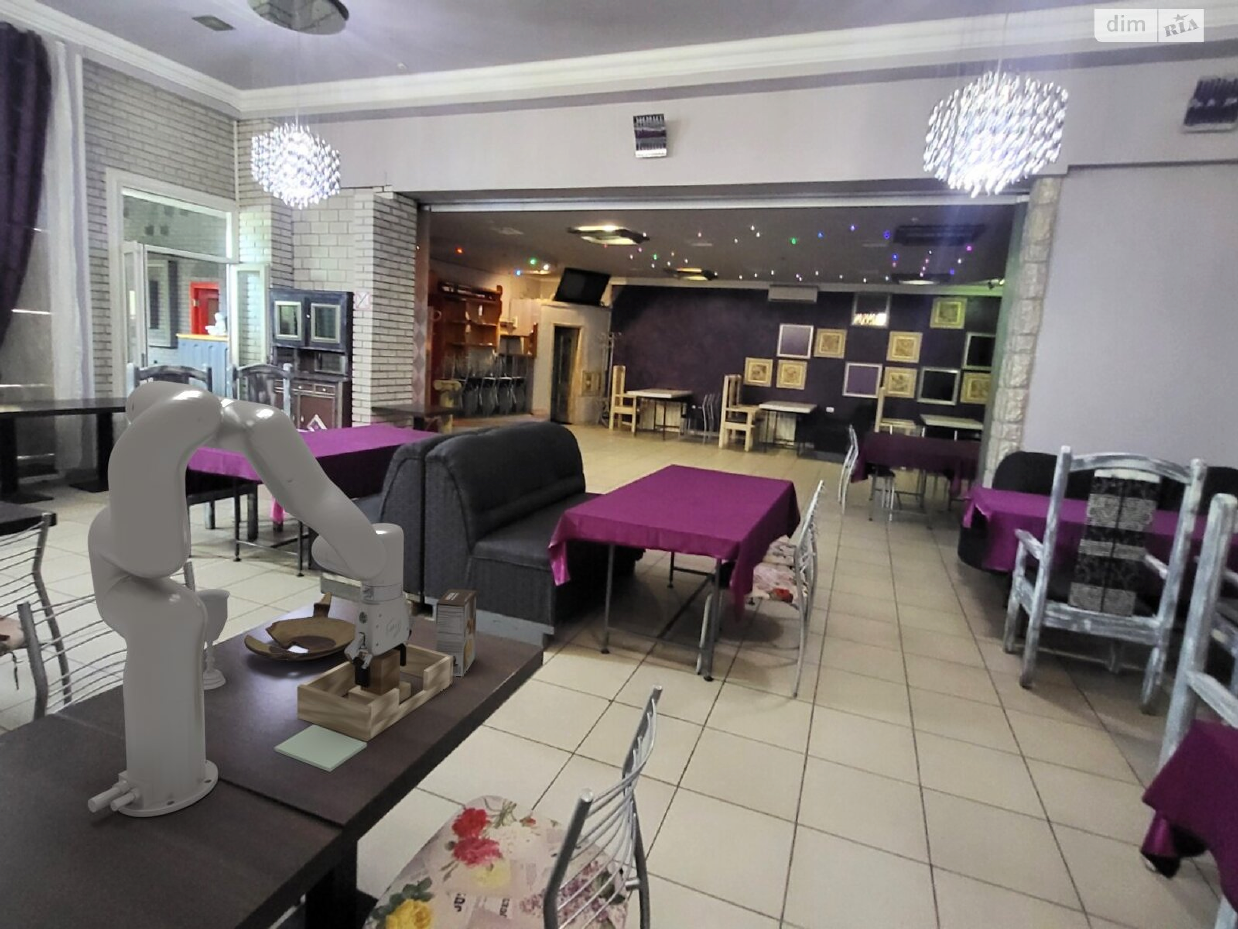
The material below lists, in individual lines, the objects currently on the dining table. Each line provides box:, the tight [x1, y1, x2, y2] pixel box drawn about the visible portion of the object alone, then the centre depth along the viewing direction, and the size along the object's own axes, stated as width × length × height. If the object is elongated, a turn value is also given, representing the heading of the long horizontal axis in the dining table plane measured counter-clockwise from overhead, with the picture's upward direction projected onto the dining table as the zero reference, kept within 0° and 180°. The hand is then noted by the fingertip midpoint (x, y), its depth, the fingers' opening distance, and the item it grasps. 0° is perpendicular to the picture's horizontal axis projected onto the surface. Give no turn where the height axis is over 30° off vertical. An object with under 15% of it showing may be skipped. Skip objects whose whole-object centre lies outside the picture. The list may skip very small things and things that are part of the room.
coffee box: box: [434, 588, 478, 678], centre depth 140 cm, size 9×6×16 cm
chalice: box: [193, 588, 231, 691], centre depth 126 cm, size 7×7×18 cm
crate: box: [296, 643, 454, 743], centre depth 126 cm, size 24×16×6 cm, turn 158°
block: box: [360, 649, 401, 696], centre depth 125 cm, size 5×5×7 cm
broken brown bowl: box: [243, 591, 356, 662], centre depth 145 cm, size 22×30×8 cm
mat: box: [273, 724, 368, 772], centre depth 109 cm, size 8×12×1 cm, turn 68°
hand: (381, 674), depth 125 cm, fingers open, 9 cm apart
